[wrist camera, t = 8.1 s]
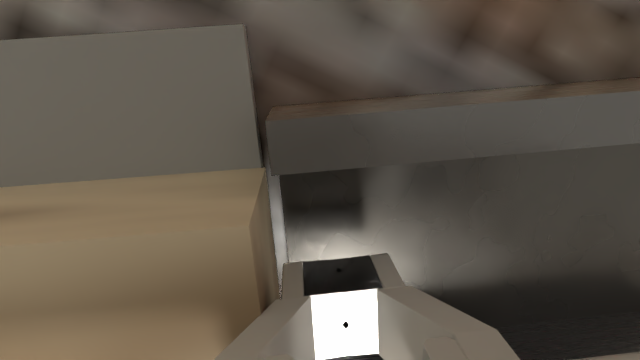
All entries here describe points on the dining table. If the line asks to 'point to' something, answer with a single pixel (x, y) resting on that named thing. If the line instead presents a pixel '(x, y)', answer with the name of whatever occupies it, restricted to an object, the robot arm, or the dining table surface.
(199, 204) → the birch block
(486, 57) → the dining table surface
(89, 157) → the slate mat
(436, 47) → the dining table surface
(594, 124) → the metal chute
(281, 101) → the dining table surface
